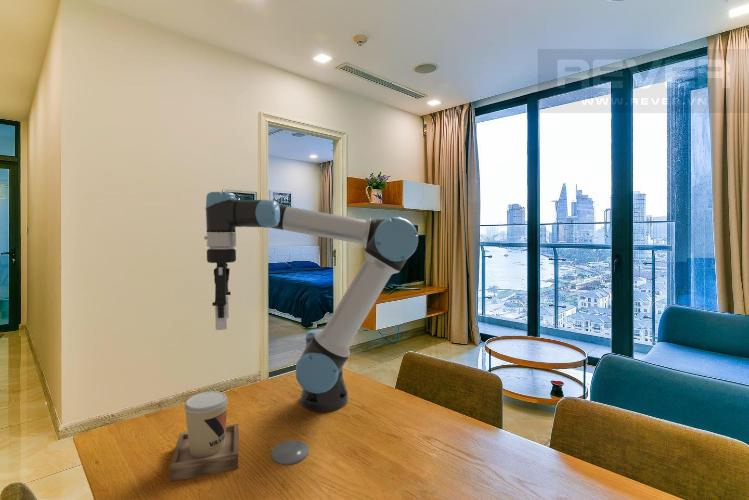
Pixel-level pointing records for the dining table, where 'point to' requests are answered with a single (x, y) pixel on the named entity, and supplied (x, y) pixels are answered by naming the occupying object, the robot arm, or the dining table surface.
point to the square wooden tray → (194, 466)
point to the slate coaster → (289, 452)
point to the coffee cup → (206, 423)
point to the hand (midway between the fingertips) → (222, 323)
